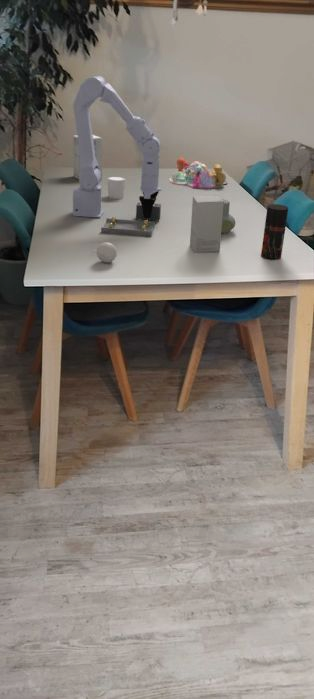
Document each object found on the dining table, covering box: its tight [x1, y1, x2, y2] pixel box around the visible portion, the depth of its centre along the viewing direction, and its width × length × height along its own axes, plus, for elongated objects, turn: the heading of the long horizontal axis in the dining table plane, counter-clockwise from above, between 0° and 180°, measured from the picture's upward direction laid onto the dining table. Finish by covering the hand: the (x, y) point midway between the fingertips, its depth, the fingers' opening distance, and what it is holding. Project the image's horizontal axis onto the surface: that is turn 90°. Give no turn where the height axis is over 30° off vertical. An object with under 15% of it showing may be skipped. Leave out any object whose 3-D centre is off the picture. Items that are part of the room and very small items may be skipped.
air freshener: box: [221, 198, 236, 235], centre depth 210 cm, size 11×8×10 cm
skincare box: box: [189, 195, 224, 253], centre depth 191 cm, size 8×7×16 cm
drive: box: [135, 201, 162, 222], centre depth 220 cm, size 8×4×5 cm, turn 85°
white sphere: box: [92, 241, 118, 264], centre depth 179 cm, size 8×6×6 cm
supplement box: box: [72, 134, 103, 181], centre depth 266 cm, size 10×9×17 cm
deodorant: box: [260, 203, 289, 261], centre depth 189 cm, size 6×6×15 cm
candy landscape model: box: [168, 157, 228, 190], centre depth 271 cm, size 25×24×9 cm
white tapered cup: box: [106, 176, 126, 200], centre depth 243 cm, size 7×7×7 cm
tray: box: [100, 216, 156, 237], centre depth 208 cm, size 16×11×3 cm
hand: (148, 214), depth 220 cm, fingers open, 7 cm apart
